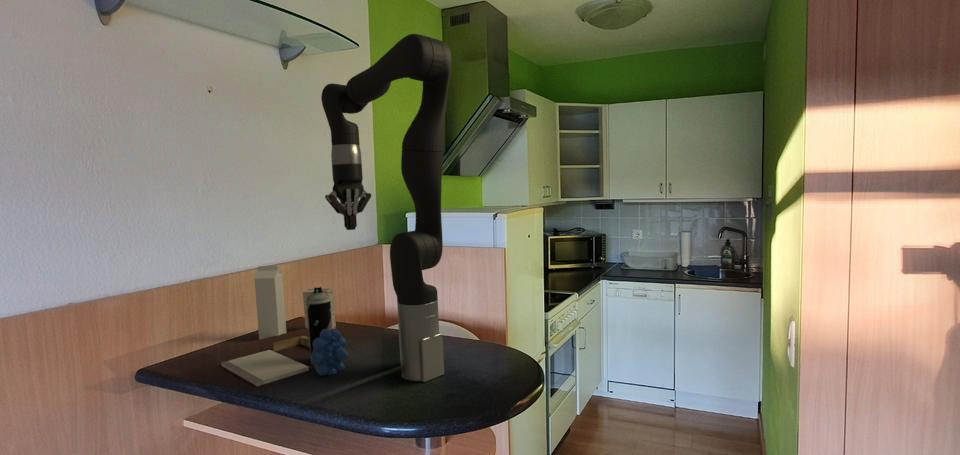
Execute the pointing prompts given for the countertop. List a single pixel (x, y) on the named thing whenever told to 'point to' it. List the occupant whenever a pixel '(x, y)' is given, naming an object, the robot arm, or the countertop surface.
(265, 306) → the milk
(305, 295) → the supplement box
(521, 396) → the countertop surface
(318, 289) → the spray can
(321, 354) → the grapes
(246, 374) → the cream thin rectangular board
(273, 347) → the wooden u-shaped bracket
